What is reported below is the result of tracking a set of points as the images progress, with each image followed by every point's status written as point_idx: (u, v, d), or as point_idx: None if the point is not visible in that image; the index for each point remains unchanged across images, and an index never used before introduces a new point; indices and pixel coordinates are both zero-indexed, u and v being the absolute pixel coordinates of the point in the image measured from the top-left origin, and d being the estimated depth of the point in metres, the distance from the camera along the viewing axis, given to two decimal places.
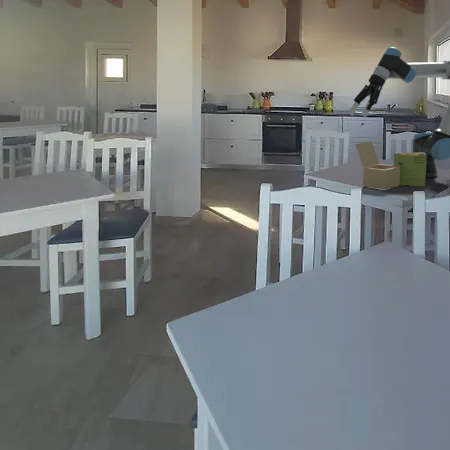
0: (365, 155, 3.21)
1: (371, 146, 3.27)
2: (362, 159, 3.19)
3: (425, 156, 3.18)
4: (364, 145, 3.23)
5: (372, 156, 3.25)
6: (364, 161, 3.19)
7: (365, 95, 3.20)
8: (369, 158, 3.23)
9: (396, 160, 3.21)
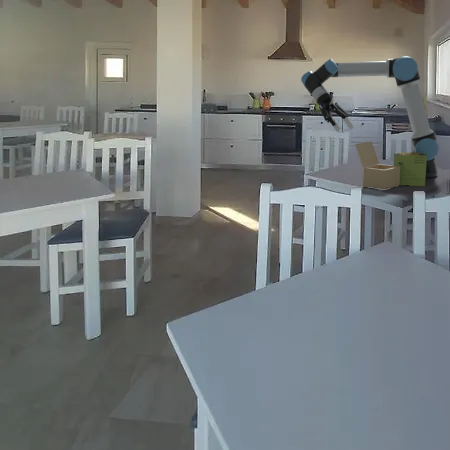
0: (365, 155, 3.21)
1: (371, 146, 3.27)
2: (362, 159, 3.19)
3: (425, 156, 3.18)
4: (364, 145, 3.23)
5: (372, 156, 3.25)
6: (364, 161, 3.19)
7: (336, 111, 3.35)
8: (369, 158, 3.23)
9: (396, 160, 3.21)
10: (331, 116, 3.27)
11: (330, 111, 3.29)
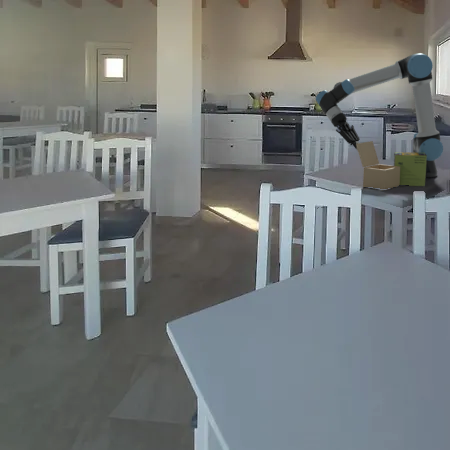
0: (365, 155, 3.21)
1: (372, 146, 3.26)
2: (362, 159, 3.18)
3: (425, 156, 3.18)
4: (365, 145, 3.23)
5: (372, 156, 3.25)
6: (364, 161, 3.19)
7: None
8: (369, 158, 3.23)
9: (396, 160, 3.21)
10: (353, 138, 3.24)
11: (349, 133, 3.25)
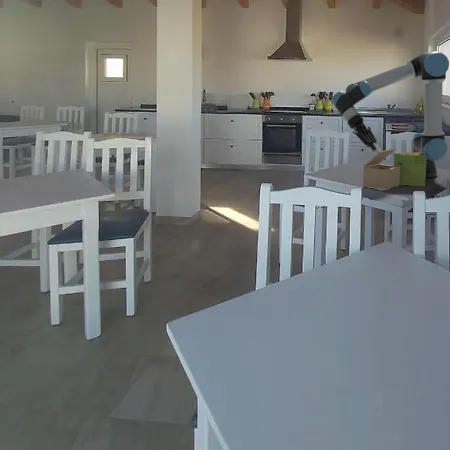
0: (376, 159, 3.17)
1: (390, 152, 3.20)
2: (370, 162, 3.16)
3: (425, 156, 3.18)
4: (385, 152, 3.15)
5: (380, 159, 3.22)
6: (370, 163, 3.17)
7: None
8: (376, 161, 3.20)
9: (396, 160, 3.21)
10: (370, 140, 3.18)
11: (366, 134, 3.19)
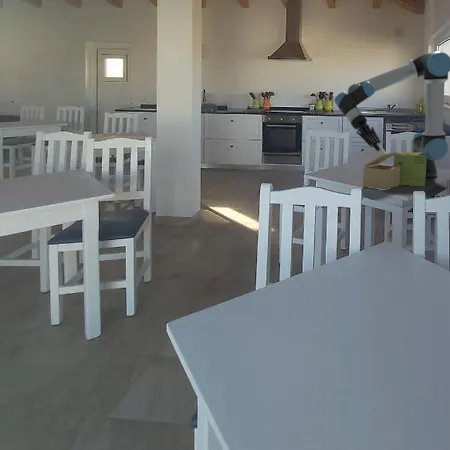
0: (377, 160, 3.17)
1: (391, 155, 3.19)
2: (370, 163, 3.16)
3: (425, 156, 3.18)
4: (387, 155, 3.15)
5: (381, 160, 3.22)
6: (370, 164, 3.17)
7: None
8: (377, 162, 3.20)
9: (396, 160, 3.21)
10: (374, 140, 3.17)
11: (370, 134, 3.18)
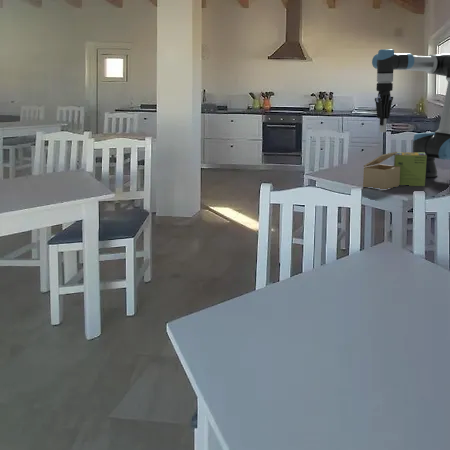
0: (377, 160, 3.17)
1: (391, 155, 3.19)
2: (370, 163, 3.16)
3: (425, 156, 3.18)
4: (387, 155, 3.15)
5: (381, 160, 3.22)
6: (370, 164, 3.17)
7: None
8: (377, 162, 3.20)
9: (396, 160, 3.21)
10: (384, 115, 3.11)
11: (384, 107, 3.10)
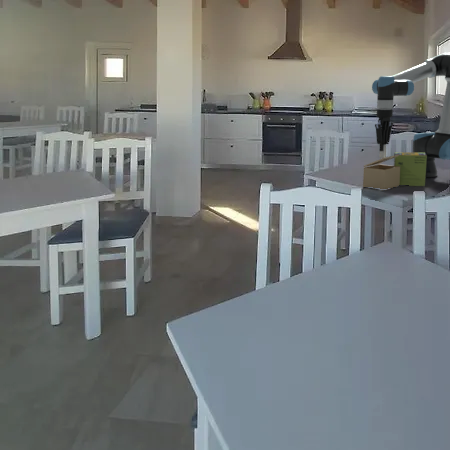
0: (377, 162, 3.17)
1: (392, 157, 3.19)
2: (371, 164, 3.16)
3: (425, 156, 3.18)
4: (388, 158, 3.15)
5: (382, 161, 3.21)
6: (370, 164, 3.17)
7: None
8: (377, 162, 3.20)
9: (396, 160, 3.21)
10: (384, 141, 3.13)
11: (384, 133, 3.12)
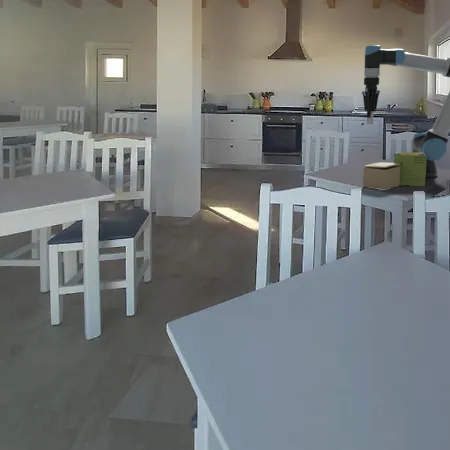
0: None
1: None
2: (371, 166, 3.16)
3: (425, 156, 3.18)
4: None
5: (382, 164, 3.22)
6: (371, 166, 3.17)
7: None
8: None
9: (396, 160, 3.21)
10: (371, 108, 3.28)
11: (371, 100, 3.27)
